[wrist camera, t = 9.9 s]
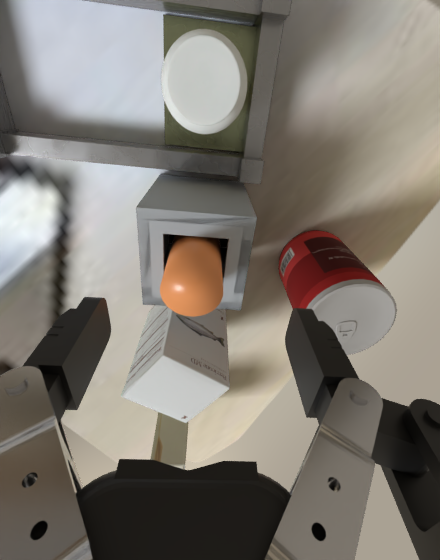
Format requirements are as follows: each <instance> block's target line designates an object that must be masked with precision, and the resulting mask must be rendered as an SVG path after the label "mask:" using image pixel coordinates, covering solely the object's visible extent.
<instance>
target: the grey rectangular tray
mask: <svg viewBox="0 0 440 560" xmlns="http://www.w3.org/2000/svg"><path fill="white" fill-rule="evenodd" d="M84 1H91V2H98V3H106V4H113V5H120V6H128V7H135V8H142V9H149V10H157V11H164V12H171V13H179V14H186V15H193V16H201V17H208V18H215V19H222V20H230V21H237V22H244V23H252V24H254V25H253V26H254V27H252V26H245V25H237V24H230V23H223V22H215V21H208V20H201V19H193V18H186V17H179V16H171V15H164V14H163V17H164V59H165V57H166V54H167V53H168V51H169V49H170V47H171V46H172V45H173V43H174V42H175V41H176V40H177V39H178V38H179V37H181V36H182V35H183V34H185V33H187V32H189V31H192V30H196V29H210V30H214V31H217V32H219V33H221V34H223V35H224V36H226V37H227V38H228V39H229V40H230V41H231V42H232V43H233V44H234V45H235V46H236V48H237V49H238V51H239V53H240V54H241V57H242V59H243V61H244V64H245V68H246V73H247V94H246V98H245V102H244V105H243V107H242V110H241V111H240V113H239V115H238V116H237V118H236V119H235V120H234V121H233V122H232V123H231V124H230V125H229V126H228V127H227V128H225V129H223V130H221V131H219V132H217V133H213V134H199V133H195V132H192V131H190V130H188V129H186V128H184V127H183V126H182V125H180V124H179V123H178V122H177V121H176V120H175V118H174V117H173V116H172V115H171V113H170V111H169V110H168V108H167V106H166V103H165V101H164V106H165V144H170V145H179V146H189V147H199V148H209V149H219V150H228V151H238V154H237V153H228V152H218V151H208V150H198V149H188V148H178V147H168V146H159V145H149V144H139V143H129V142H119V141H109V140H99V139H90V138H80V137H70V136H60V135H50V134H40V133H30V132H21V131H19V129H15V127H14V123H13V119H12V116H11V112H10V108H9V105H8V101H7V97H6V93H5V90H4V86H3V82H2V79H1V75H0V158H2V157H6V156H10V155H19V156H30V157H40V158H51V159H61V160H72V161H82V162H93V163H103V164H114V165H124V166H135V167H145V168H156V169H166V170H177V171H187V172H198V173H208V174H219V175H229V176H237V177H238V180H239V182H243V183H254V184H261V178H262V172H263V166H264V160H263V159H262V152H263V146H264V140H265V134H266V128H267V121H268V115H269V109H270V103H271V97H272V91H273V85H274V79H275V73H276V67H277V61H278V54H279V48H280V42H281V36H282V30H283V24H284V21H285V19H286V18H287V17H288V16H289V13H290V7H291V2H292V0H84Z"/></svg>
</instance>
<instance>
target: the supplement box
mask: <svg viewBox="0 0 440 560" xmlns="http://www.w3.org/2000/svg"><path fill="white" fill-rule="evenodd" d="M229 388H230V381H229V361H228V344H227V325H226V309H214V310H213V311H211V312H210V313H208V314H205V315H202V316H195V317H193V316H184V315H181V314H178V313H176V312H174V311H172V310H171V309H170V308H168V307H167V306H162V305H154V306H153V307H152V309H151V310H150V311H149V313H148V316H147V319H146V322H145V325H144V328H143V331H142V334H141V337H140V340H139V343H138V346H137V350H136V353H135V356H134V359H133V362H132V365H131V368H130V372H129V375H128V378H127V381H126V384H125V386H124V389H123V391H122V394H121V396H122V397H123V398H125V399H127V400H130V401H132V402H135V403H137V404H140V405H142V406H145V407H147V408H150V409H152V410H154V411H157V412H160V413H162V414H165V415H167V416H170V417H172V418H175V419H177V420H179V421H182V422H184V423H187V422H188V421H190V420H191V419H192V418H194V417H195V416H196V415H197V414H199V413H200V412H201V411H202V410H204V409H205V408H206V407H207V406H209V405H210V404H211V403H213V402H214V401H215V400H216V399H218V398H219V397H220V396H221V395H223V394H224V393H225V392H226V391H227V390H228V389H229Z"/></svg>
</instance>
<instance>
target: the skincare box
mask: <svg viewBox="0 0 440 560" xmlns="http://www.w3.org/2000/svg"><path fill="white" fill-rule="evenodd" d="M187 434H188V422H187V423H184V422H182V421H179V420H177V419H175V418H172V417H170V416H167V415H165V414H162V413H160V412H158V418H157V424H156V430H155V436H154V442H153V448H152V454H151V459H150V460H156V461H159V462H162V463H165V464H168V465H171V466H174V467H178V468H181V469H184V470H185V461H186V448H187Z"/></svg>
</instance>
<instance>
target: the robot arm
mask: <svg viewBox="0 0 440 560" xmlns="http://www.w3.org/2000/svg"><path fill="white" fill-rule="evenodd" d="M110 334H111V324H110V319H109V313H108V308H107V303H106V300H105V298H95V297H85V298H83V300H82V301H81V303H80V304H79V306H78V307H77V308H76V309H69V310H68V311H66V312H65V313H64V314H62V315H61V316H59V318H58V319H57V320H56V322H55V323H54V324H53V326H52V328H50V330H49V331H48V332H47V334H46V336H44V338H43V339H42V341H41V342H40V343H39V345H38V346H37V347H36V349H35V350H34V351H33V353H32V354H31V355H30V357H29V358H28V359H27V361H26V362H25V363H24V365H23V366H22V367H18V368H15V369H12V370H10V371H8V372H6V373H4V374H3V375H1V376H0V560H354V559H355V555H356V550H357V546H358V541H359V536H360V532H361V527H362V523H363V518H364V514H365V509H366V504H367V500H368V495H369V490H370V486H371V482H372V477H373V473H374V467H375V463H376V464H379V465H381V467H382V470H383V472H384V475H385V477H386V479H387V482H388V484H389V487H390V489H391V492H392V494H393V496H394V499H395V501H396V504H397V506H398V509H399V511H400V514H401V516H402V518H403V521H404V523H405V526H406V528H407V531H408V533H409V535H410V538H411V540H412V543H413V545H414V548H415V550H416V553H417V555H418V557H419V560H440V405H439V404H437V403H435V402H432V401H430V400H426V399H416V400H414V401H413V402H412V403H411V404H410V406H409V407H408V406H405V405H401V404H398V403H395V402H392V401H389V400H386V399H383V398H381V397H380V395H379V393H378V392H377V391H376V390H375V389H374V388H373V387H372V386H371V385H369V384H368V383H366V382H364V381H362V380H360V379H359V378H358V376H357V374H356V372H355V370H354V368H353V367H352V365H351V363H350V361H349V359H348V357H347V355H346V353H345V351H344V349H342V346H341V344H340V342H339V341H338V338H337V336H336V334H335V332H334V331H333V329H332V328H331V327H330V326H329V325H328V324H326V323H325V322H324V321H318V319H317V317H316V315H315V313H314V311H313V310H312V309H305V308H294V309H293V311H292V314H291V317H290V321H289V325H288V328H287V332H286V337H285V344H286V349H287V353H288V356H289V360H290V363H291V366H292V370H293V373H294V376H295V379H296V383H297V387H298V390H299V393H300V397H301V400H302V404H303V407H304V410H305V414H306V417H310V418H317V420H318V423H319V426H318V429H317V431H316V433H315V435H314V438H313V440H312V442H311V444H310V447H309V449H308V451H307V454H306V456H305V458H304V460H303V463H302V465H301V467H300V470H299V472H298V474H297V476H296V478H295V481H294V483H293V485H292V487H291V489H290V492H288V491H287V490H286V489H285V488H284V487H282V486H281V485H280V484H279V483H277V482H276V481H274V480H272V479H271V478H269V477H267V476H265V475H263V474H260V473H258V472H257V464H256V462H244V461H240V462H239V461H222V462H218V463H215V464H211V465H208V466H204V467H200V468H197V469H193V470H184V469H181V468H178V467H174V466H171V465H168V464H165V463H162V462H159V461H156V460H137V459H119V463H118V467H117V470H116V471H113V472H110V473H108V474H105V475H102V476H101V477H99V478H97V479H95V480H93V481H92V482H90V483H89V484H88V485H86V486H85V487H83V486H82V483H81V480H80V477H79V474H78V472H77V469H76V466H75V463H74V459H73V456H72V453H71V450H70V447H69V444H68V440H67V438H66V434H65V431H64V427H63V424H62V421H61V418H62V416H63V414H64V412H65V410H77V409H78V407H79V405H80V403H81V400H82V398H83V396H84V394H85V392H86V389H87V387H88V385H89V383H90V381H91V378H92V376H93V374H94V372H95V370H96V367H97V365H98V363H99V361H100V359H101V356H102V354H103V352H104V350H105V348H106V345H107V343H108V341H109V338H110Z"/></svg>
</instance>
